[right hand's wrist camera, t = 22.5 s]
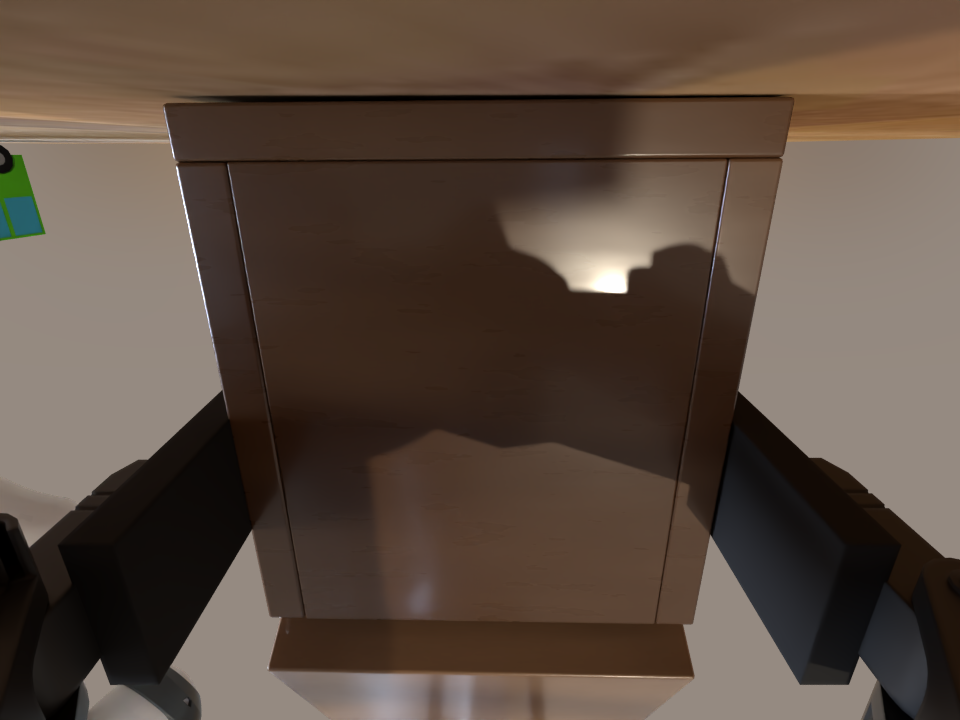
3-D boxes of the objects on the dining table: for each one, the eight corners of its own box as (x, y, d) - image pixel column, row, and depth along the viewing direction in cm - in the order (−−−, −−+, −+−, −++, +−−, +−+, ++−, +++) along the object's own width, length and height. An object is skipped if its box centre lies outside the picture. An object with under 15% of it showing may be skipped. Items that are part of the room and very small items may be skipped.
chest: (595, 132, 24) (580, 355, 28) (380, 133, 24) (395, 354, 28) (797, 96, 8) (693, 625, 12) (159, 103, 8) (268, 619, 12)
